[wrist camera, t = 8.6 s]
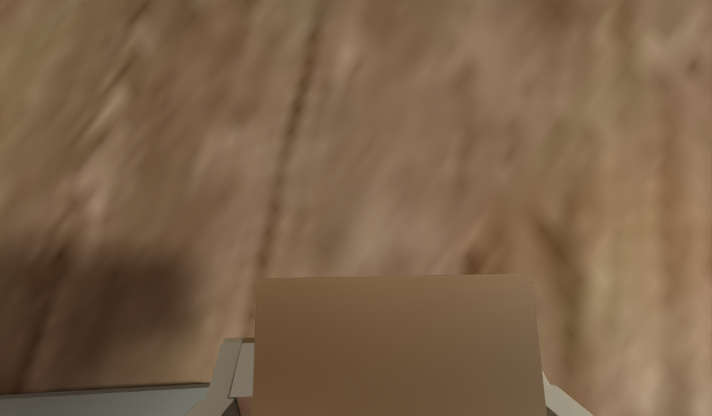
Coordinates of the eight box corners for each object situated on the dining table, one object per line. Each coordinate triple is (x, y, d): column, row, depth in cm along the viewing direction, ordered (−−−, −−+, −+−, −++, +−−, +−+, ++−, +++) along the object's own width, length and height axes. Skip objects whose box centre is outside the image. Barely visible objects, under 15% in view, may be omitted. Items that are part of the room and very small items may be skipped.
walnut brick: (421, 404, 14) (567, 594, 6) (296, 409, 14) (244, 623, 5) (415, 277, 15) (531, 273, 7) (298, 280, 15) (256, 278, 6)
